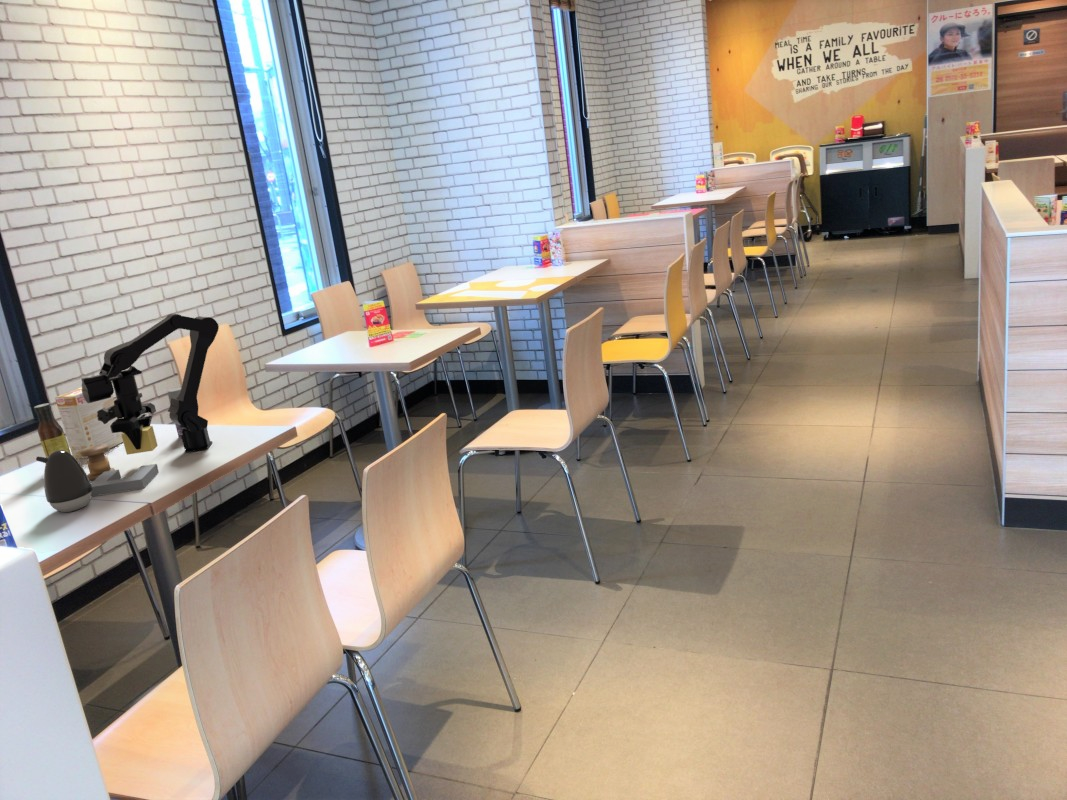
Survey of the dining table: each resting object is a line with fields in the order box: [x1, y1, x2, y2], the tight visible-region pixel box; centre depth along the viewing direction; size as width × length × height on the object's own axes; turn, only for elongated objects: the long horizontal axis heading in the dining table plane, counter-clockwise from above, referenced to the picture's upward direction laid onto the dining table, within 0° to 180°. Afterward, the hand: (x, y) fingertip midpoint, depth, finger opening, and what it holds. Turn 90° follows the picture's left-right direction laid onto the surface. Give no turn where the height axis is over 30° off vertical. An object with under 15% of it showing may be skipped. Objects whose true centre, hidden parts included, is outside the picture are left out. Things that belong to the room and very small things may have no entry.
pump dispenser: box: [35, 450, 92, 513], centre depth 208 cm, size 10×10×15 cm
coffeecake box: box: [54, 386, 123, 460], centre depth 256 cm, size 15×7×20 cm, turn 164°
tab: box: [121, 425, 158, 455], centre depth 235 cm, size 7×4×6 cm, turn 96°
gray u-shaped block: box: [90, 463, 160, 497], centre depth 222 cm, size 14×12×2 cm
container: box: [166, 387, 183, 439], centre depth 259 cm, size 5×5×15 cm
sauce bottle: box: [33, 402, 72, 458], centre depth 239 cm, size 6×6×20 cm
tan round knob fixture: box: [80, 444, 116, 482], centre depth 231 cm, size 7×7×8 cm
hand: (141, 446), depth 236 cm, fingers closed on tab, 4 cm apart
